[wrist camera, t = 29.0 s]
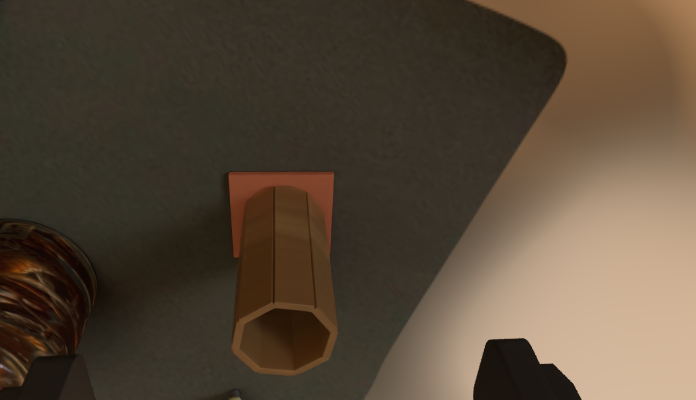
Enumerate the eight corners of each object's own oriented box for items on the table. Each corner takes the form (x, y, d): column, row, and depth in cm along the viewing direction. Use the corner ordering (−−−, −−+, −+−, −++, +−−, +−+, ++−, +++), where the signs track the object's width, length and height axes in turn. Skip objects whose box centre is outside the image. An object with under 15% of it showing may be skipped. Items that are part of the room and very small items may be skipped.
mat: (333, 171, 44) (334, 174, 44) (329, 252, 48) (329, 255, 48) (228, 171, 43) (228, 175, 43) (234, 254, 47) (233, 257, 47)
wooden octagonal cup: (293, 171, 43) (299, 287, 32) (335, 225, 46) (353, 347, 36) (227, 210, 44) (211, 334, 34) (272, 260, 48) (272, 387, 37)
